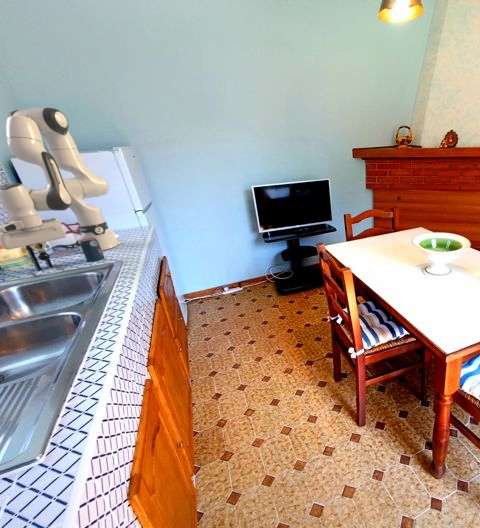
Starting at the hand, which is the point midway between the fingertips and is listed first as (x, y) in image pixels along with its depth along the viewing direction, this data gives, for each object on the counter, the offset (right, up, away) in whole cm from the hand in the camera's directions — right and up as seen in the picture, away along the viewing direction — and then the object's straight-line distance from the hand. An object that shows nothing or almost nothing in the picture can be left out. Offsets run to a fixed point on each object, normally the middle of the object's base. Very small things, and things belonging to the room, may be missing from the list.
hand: (41, 252), depth 133 cm
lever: (-4, -1, +3) cm, 5 cm away
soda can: (+10, -4, +17) cm, 20 cm away
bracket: (-7, -8, +9) cm, 14 cm away
